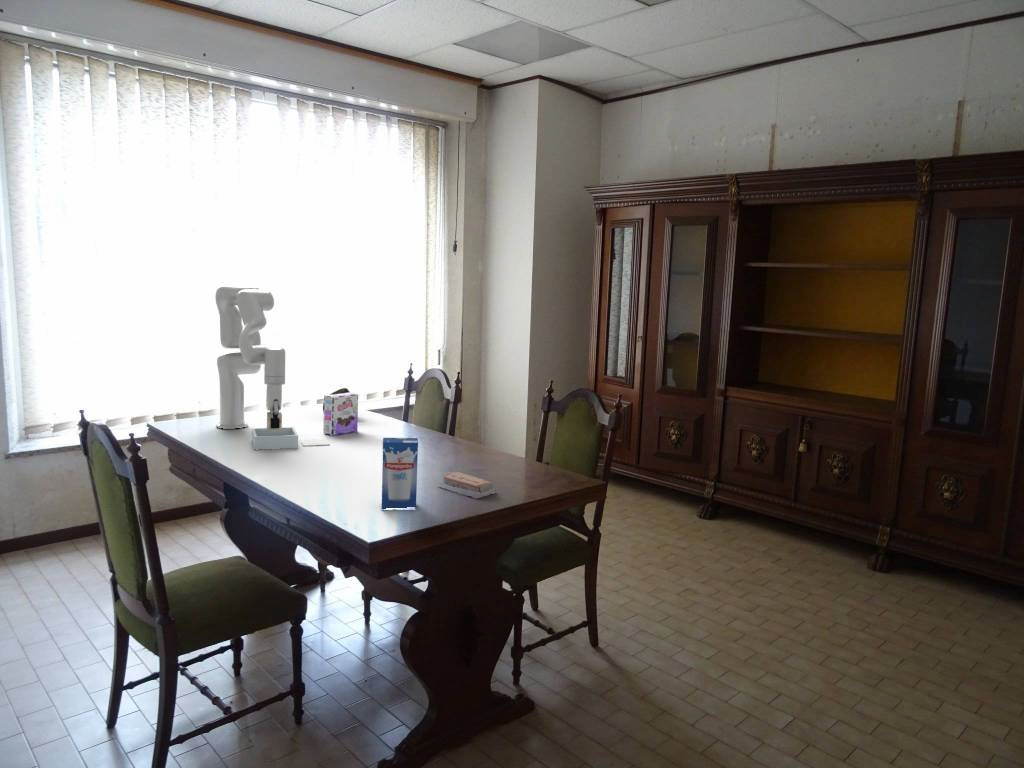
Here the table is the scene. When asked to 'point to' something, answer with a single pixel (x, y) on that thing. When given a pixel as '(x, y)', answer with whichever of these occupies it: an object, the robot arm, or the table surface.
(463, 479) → the packaged product
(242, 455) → the table surface
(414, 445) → the milk carton
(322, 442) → the mat
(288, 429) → the square storage bin
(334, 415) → the candy box
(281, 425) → the birch block
